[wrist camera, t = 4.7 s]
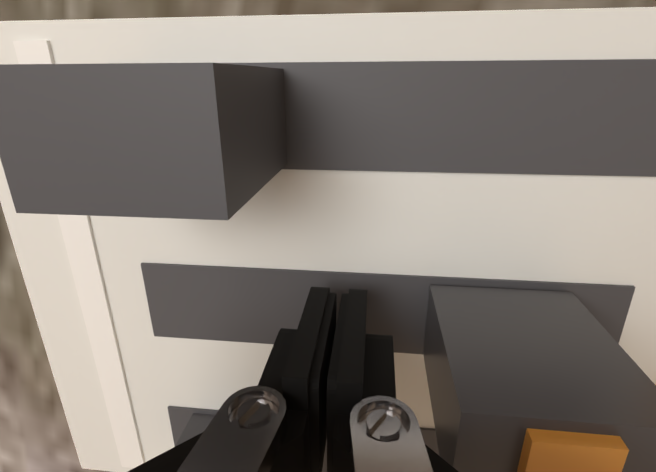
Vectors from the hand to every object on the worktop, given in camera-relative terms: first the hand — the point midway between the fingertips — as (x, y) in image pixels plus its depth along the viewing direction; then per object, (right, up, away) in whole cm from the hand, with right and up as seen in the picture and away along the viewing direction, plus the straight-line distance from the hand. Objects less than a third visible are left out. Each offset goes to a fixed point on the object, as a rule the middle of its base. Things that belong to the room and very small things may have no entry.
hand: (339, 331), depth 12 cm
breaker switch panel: (+1, +1, +3) cm, 3 cm away
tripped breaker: (+5, 0, 0) cm, 5 cm away
